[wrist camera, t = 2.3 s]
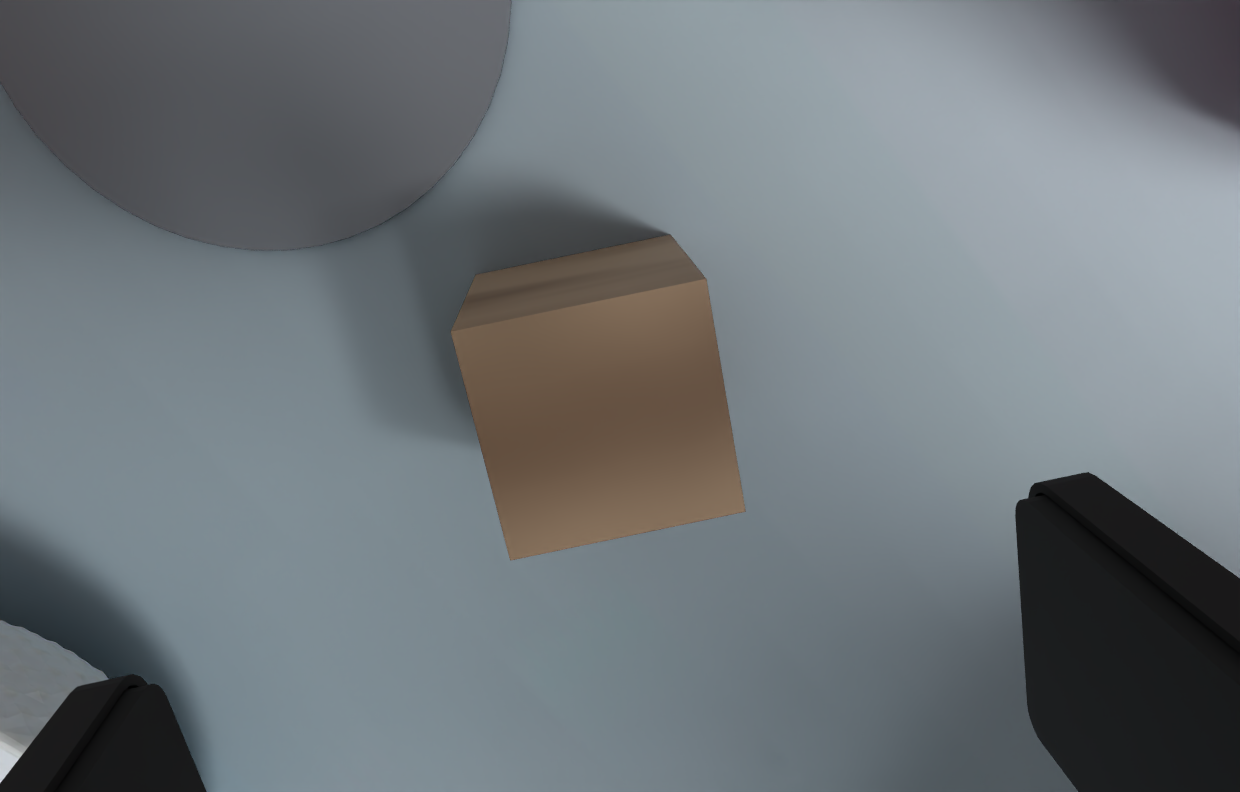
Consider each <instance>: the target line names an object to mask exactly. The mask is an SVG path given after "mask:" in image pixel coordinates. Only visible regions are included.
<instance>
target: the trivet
mask: <svg viewBox="0 0 1240 792" xmlns="http://www.w3.org/2000/svg"><path fill="white" fill-rule="evenodd" d="M510 13H511V0H0V82H1V84H2V85H3V87H4V89H5V90H6V92H7V94H8V95H9V97H10V99H11V100H12V102H13V104H14V105H15V107H16V108H17V110H18V111H19V112H20V114H21V115H22V116H23V118H24V119H25V120H26V122H27V123H28V124H29V126H30V127H31V128H32V129H33V131H34V132H35V133H36V135H37V136H38V137H39V138H40V140H41V141H42V142H43V143H44V144H45V145H46V146H47V147H48V148H49V149H50V150H51V151H52V152H53V153H54V154H55V155H56V156H57V157H58V159H59V160H60V161H61V162H62V163H63V164H64V165H65V166H66V167H68V168H69V169H70V170H71V171H72V172H74V173H75V174H76V175H77V176H78V177H79V178H81V179H82V180H83V181H84V182H85V183H86V184H88V185H89V186H90V187H91V188H92V189H94V190H95V191H97V192H98V193H100V194H101V195H103V196H104V197H106V198H107V199H109V200H110V201H112V202H113V203H115V204H116V205H118V206H119V207H121V208H122V209H124V210H126V211H127V212H129V213H131V214H133V215H135V216H137V217H139V218H141V219H143V220H145V221H147V222H149V223H151V224H153V225H155V226H157V227H160V228H162V229H165V230H167V231H170V232H173V233H175V234H178V235H181V236H183V237H186V238H189V239H193V240H197V241H201V242H205V243H209V244H213V245H217V246H222V247H230V248H238V249H247V250H293V249H300V248H307V247H314V246H321V245H324V244H328V243H331V242H335V241H339V240H342V239H346V238H349V237H352V236H354V235H357V234H359V233H361V232H364V231H366V230H368V229H371V228H373V227H375V226H378V225H380V224H382V223H383V222H385V221H387V220H388V219H390V218H391V217H393V216H395V215H396V214H398V213H400V212H401V211H403V210H405V209H406V208H408V207H409V206H410V205H411V204H413V203H414V202H415V201H416V200H418V199H419V198H420V197H421V196H423V195H424V194H425V193H426V192H427V191H429V190H430V189H431V188H432V187H433V186H434V185H435V184H436V183H437V182H438V181H439V180H440V179H441V178H442V177H443V176H444V175H445V173H446V172H447V171H448V170H449V169H450V168H451V167H452V166H453V165H454V164H455V162H456V161H457V160H458V158H459V157H460V155H461V154H462V152H463V151H464V150H465V148H466V147H467V145H468V144H469V143H470V141H471V140H472V138H473V137H474V135H475V133H476V131H477V129H478V127H479V125H480V123H481V121H482V119H483V117H484V116H485V114H486V112H487V110H488V108H489V105H490V102H491V100H492V97H493V94H494V91H495V89H496V86H497V83H498V80H499V78H500V74H501V70H502V65H503V61H504V56H505V52H506V47H507V43H508V34H509V24H510Z"/></svg>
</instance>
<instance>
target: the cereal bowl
mask: <svg viewBox="0 0 1240 792" xmlns="http://www.w3.org/2000/svg"><path fill="white" fill-rule="evenodd" d="M104 680H108V678H107V676H106V675H105V674H104V673H103V671H101V670H98V669H96V668H94V667H92V666H91V665H90V664H89V663H88V662H87V661H85V660H83V659H81V658H79V657H78V656H77V655H76V654H75V653H74V652H72V651H69V650H66V649H64V648H62V647H61V646H60V645H59V644H57V643H56V642H53V641H49V640H46V639H44V638H42V637H41V636H39V635H38V634H36V633H32V632H30V631H28V630H27V629H25V628H24V627H19V626H13V625H9V624H8V623H6V622H5V621H2V620H0V783H1V781H2V780H3V779H4V778H5V776H6V775H7V774H8V772H9V771H10V770H11V769H12V767H13V766H14V765H15V763H16V762H17V761H18V760H19V758H20V757H21V756H22V754H23V753H24V752H25V750H26V749H27V748H28V747H29V745H30V744H31V743H32V741H33V740H34V739H35V738H36V736H37V735H38V734H39V732H40V731H41V730H42V729H43V727H44V726H45V725H46V723H47V722H48V721H49V719H50V718H51V717H52V716H53V714H54V713H55V712H56V710H57V709H58V708H59V707H60V705H61V704H62V703H63V701H64V700H65V699H66V698H67V696H68V695H69V694H70V692H72V691H73V690H74V689H75V688H76V687H77V686H81V685H85V684H89V683H94V682H99V681H104Z"/></svg>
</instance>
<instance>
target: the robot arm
mask: <svg viewBox="0 0 1240 792" xmlns="http://www.w3.org/2000/svg"><path fill="white" fill-rule="evenodd" d="M1015 516H1016V532H1017V548H1018V564H1019V580H1020V596H1021V612H1022V628H1023V644H1024V660H1025V676H1026V692H1027V705H1028V712H1029V716H1030V719H1031V722H1032V725H1033V728H1034V730H1035V732H1036V734H1037V736H1038V738H1039V739H1040V741H1041V742H1042V744H1043V745H1044V747H1045V748H1046V749H1047V750H1048V752H1049V753H1050V754H1051V756H1052V757H1053V758H1054V760H1055V761H1056V762H1057V764H1058V765H1059V766H1060V768H1061V769H1062V770H1063V772H1064V773H1065V774H1066V776H1067V777H1068V778H1069V780H1070V781H1071V782H1072V784H1073V785H1074V786H1075V788H1076V789H1077V790H1078V792H1240V578H1238V577H1237V576H1235V575H1234V574H1233V573H1231V572H1230V571H1228V570H1227V569H1226V568H1224V567H1223V566H1221V565H1220V564H1219V563H1217V562H1216V561H1214V560H1213V559H1212V558H1210V557H1209V556H1207V555H1206V554H1205V553H1203V552H1202V551H1200V550H1199V549H1198V548H1196V547H1195V546H1193V545H1192V544H1191V543H1189V542H1188V541H1186V540H1185V539H1184V538H1182V537H1181V536H1179V535H1178V534H1177V533H1175V532H1174V531H1172V530H1171V529H1170V528H1168V527H1167V526H1165V525H1164V524H1163V523H1161V522H1160V521H1158V520H1157V519H1156V518H1154V517H1153V516H1151V515H1150V514H1148V513H1147V512H1146V511H1144V510H1143V509H1141V508H1140V507H1139V506H1137V505H1136V504H1134V503H1133V502H1132V501H1130V500H1129V499H1127V498H1126V497H1125V496H1123V495H1122V494H1120V493H1119V492H1118V491H1116V490H1115V489H1113V488H1112V487H1111V486H1109V485H1108V484H1106V483H1105V482H1104V481H1102V480H1101V479H1099V478H1098V477H1097V476H1095V475H1093V474H1091V473H1089V472H1087V473H1081V474H1076V475H1071V476H1067V477H1062V478H1057V479H1052V480H1048V481H1043V482H1038V483H1034V485H1033V486H1032V487H1031V489H1030V492H1029V498H1027V499H1023V500H1020V501H1019V502H1018V503H1017V506H1016V515H1015ZM0 792H206V789H205V787H204V785H203V782H202V780H201V778H200V775H199V773H198V770H197V768H196V766H195V763H194V761H193V758H192V756H191V754H190V751H189V749H188V746H187V744H186V742H185V739H184V737H183V735H182V732H181V730H180V727H179V725H178V723H177V720H176V718H175V715H174V713H173V711H172V708H171V706H170V704H169V701H168V699H167V696H166V695H165V693H164V691H163V689H162V688H161V687H160V686H158V685H156V684H150V685H148V684H147V683H146V681H144V680H143V679H142V678H141V677H140V676H138V675H134V674H132V675H127V676H122V677H118V678H113V679H108V680H104V681H99V682H94V683H89V684H85V685H81V686H77V687H76V688H75V689H74V690H73V691H72V692H70V694H69V695H68V696H67V698H66V699H65V700H64V701H63V703H62V704H61V705H60V707H59V708H58V709H57V710H56V712H55V713H54V714H53V716H52V717H51V718H50V719H49V721H48V722H47V723H46V725H45V726H44V727H43V729H42V730H41V731H40V732H39V734H38V735H37V736H36V738H35V739H34V740H33V741H32V743H31V744H30V745H29V747H28V748H27V749H26V750H25V752H24V753H23V754H22V756H21V757H20V758H19V760H18V761H17V762H16V763H15V765H14V766H13V767H12V769H11V770H10V771H9V772H8V774H7V775H6V776H5V778H4V779H3V780H2V781H1V783H0Z"/></svg>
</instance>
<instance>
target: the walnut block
mask: <svg viewBox="0 0 1240 792" xmlns="http://www.w3.org/2000/svg"><path fill="white" fill-rule="evenodd" d="M451 335H452V339H453V343H454V347H455V350H456V354H457V358H458V362H459V366H460V370H461V373H462V377H463V381H464V385H465V389H466V393H467V396H468V400H469V404H470V408H471V412H472V416H473V420H474V423H475V427H476V431H477V435H478V439H479V443H480V446H481V450H482V454H483V458H484V462H485V466H486V469H487V473H488V477H489V481H490V485H491V489H492V492H493V496H494V500H495V504H496V508H497V512H498V515H499V519H500V523H501V527H502V531H503V535H504V538H505V542H506V546H507V550H508V554H509V558H510V560H515V559H520V558H525V557H529V556H534V555H539V554H544V553H549V552H554V551H558V550H563V549H568V548H573V547H578V546H582V545H587V544H592V543H597V542H602V541H607V540H611V539H616V538H621V537H626V536H631V535H636V534H640V533H645V532H650V531H655V530H660V529H664V528H669V527H674V526H679V525H684V524H689V523H693V522H698V521H703V520H708V519H713V518H717V517H722V516H727V515H732V514H737V513H742V512H746V511H745V505H744V499H743V493H742V487H741V481H740V475H739V470H738V464H737V458H736V452H735V446H734V440H733V434H732V428H731V422H730V416H729V410H728V405H727V399H726V393H725V387H724V381H723V375H722V369H721V363H720V357H719V351H718V345H717V340H716V334H715V328H714V322H713V316H712V310H711V304H710V298H709V292H708V286H707V280H706V278H705V277H704V275H703V274H702V273H701V272H700V270H699V269H698V268H697V267H696V265H695V264H694V263H693V262H692V261H691V259H690V258H689V257H688V256H687V254H686V253H685V252H684V251H683V249H682V248H681V247H680V246H679V244H678V243H677V242H676V241H675V239H674V238H673V237H672V236H671V235H665V236H661V237H656V238H651V239H646V240H641V241H636V242H632V243H627V244H622V245H617V246H612V247H607V248H603V249H598V250H593V251H588V252H583V253H578V254H573V255H569V256H564V257H559V258H554V259H549V260H544V261H540V262H535V263H530V264H525V265H520V266H515V267H511V268H506V269H501V270H496V271H491V272H486V273H482V274H477V275H475V277H474V280H473V282H472V284H471V286H470V289H469V291H468V293H467V295H466V298H465V300H464V302H463V305H462V307H461V309H460V311H459V314H458V316H457V318H456V321H455V323H454V325H453V327H452V330H451Z"/></svg>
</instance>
